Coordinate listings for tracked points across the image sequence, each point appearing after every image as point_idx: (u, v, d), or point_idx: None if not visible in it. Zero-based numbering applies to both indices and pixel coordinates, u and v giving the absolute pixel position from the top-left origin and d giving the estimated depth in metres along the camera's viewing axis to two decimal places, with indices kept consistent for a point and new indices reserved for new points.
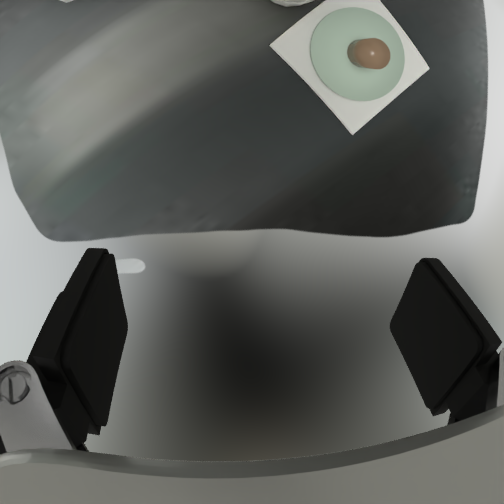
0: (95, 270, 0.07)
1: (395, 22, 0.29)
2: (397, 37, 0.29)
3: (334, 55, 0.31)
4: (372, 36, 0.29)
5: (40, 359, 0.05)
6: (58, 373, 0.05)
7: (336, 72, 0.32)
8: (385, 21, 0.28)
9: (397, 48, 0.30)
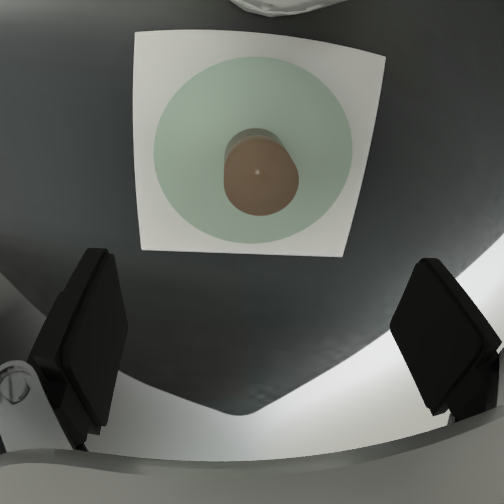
0: (95, 270, 0.07)
1: (363, 161, 0.20)
2: (340, 183, 0.20)
3: (207, 125, 0.17)
4: (302, 148, 0.18)
5: (40, 359, 0.05)
6: (58, 373, 0.05)
7: (185, 152, 0.18)
8: (348, 146, 0.18)
9: (322, 197, 0.20)
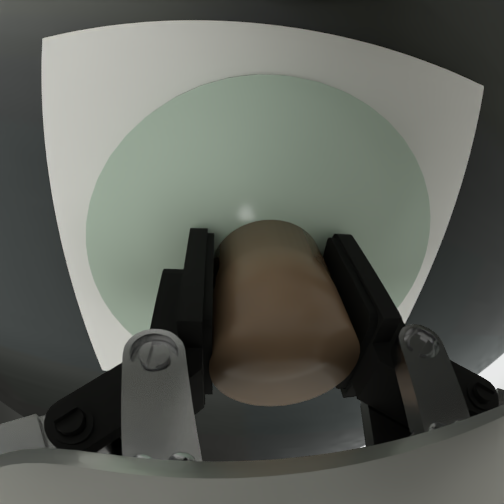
0: (206, 246, 0.09)
1: (432, 253, 0.12)
2: (400, 295, 0.12)
3: (177, 216, 0.09)
4: None
5: (183, 324, 0.06)
6: (196, 337, 0.06)
7: (141, 262, 0.10)
8: (423, 242, 0.11)
9: None
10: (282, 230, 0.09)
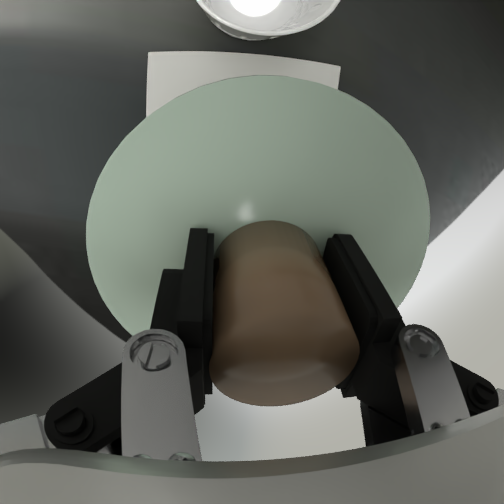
0: (206, 246, 0.09)
1: None
2: (400, 295, 0.12)
3: (176, 216, 0.09)
4: None
5: (183, 324, 0.06)
6: (197, 337, 0.06)
7: (141, 262, 0.10)
8: (422, 242, 0.11)
9: None
10: (282, 231, 0.09)
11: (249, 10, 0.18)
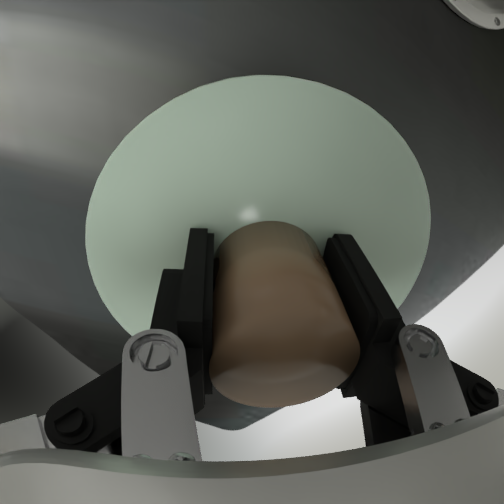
0: (206, 246, 0.09)
1: None
2: (400, 296, 0.12)
3: (176, 217, 0.09)
4: None
5: (184, 323, 0.06)
6: (197, 337, 0.06)
7: (140, 263, 0.10)
8: (423, 243, 0.10)
9: None
10: (282, 231, 0.09)
11: None
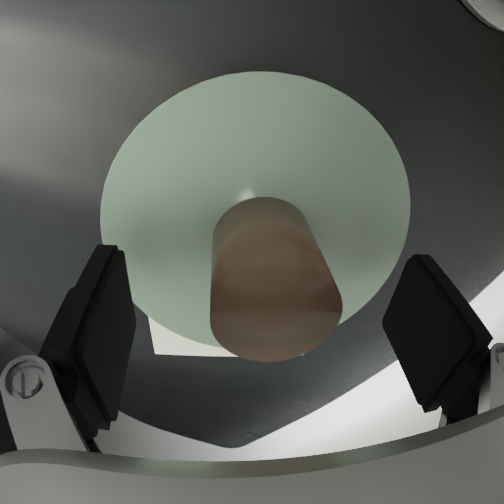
0: (106, 266, 0.07)
1: None
2: (387, 269, 0.13)
3: (181, 194, 0.11)
4: (336, 225, 0.12)
5: (53, 353, 0.05)
6: (71, 367, 0.05)
7: (149, 237, 0.11)
8: (404, 218, 0.12)
9: (359, 289, 0.14)
10: (273, 204, 0.10)
11: None
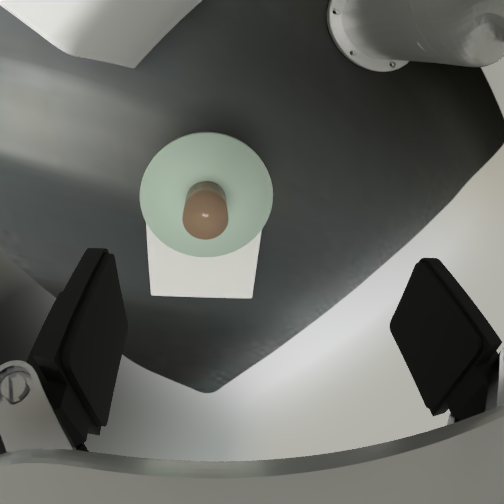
0: (95, 270, 0.07)
1: (256, 254, 0.44)
2: (266, 214, 0.30)
3: (174, 179, 0.27)
4: (237, 193, 0.28)
5: (40, 359, 0.05)
6: (58, 373, 0.05)
7: (160, 197, 0.28)
8: (269, 189, 0.29)
9: (253, 224, 0.30)
10: (208, 183, 0.27)
11: None
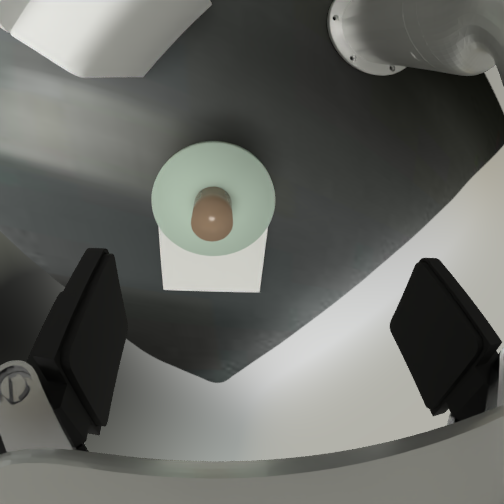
0: (95, 270, 0.07)
1: (263, 251, 0.47)
2: (268, 217, 0.32)
3: (183, 185, 0.30)
4: (241, 197, 0.31)
5: (40, 359, 0.05)
6: (58, 373, 0.05)
7: (170, 201, 0.30)
8: (272, 194, 0.31)
9: (257, 226, 0.33)
10: (215, 189, 0.29)
11: None
